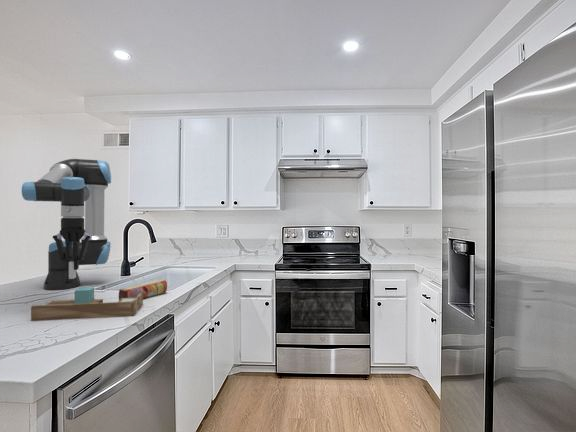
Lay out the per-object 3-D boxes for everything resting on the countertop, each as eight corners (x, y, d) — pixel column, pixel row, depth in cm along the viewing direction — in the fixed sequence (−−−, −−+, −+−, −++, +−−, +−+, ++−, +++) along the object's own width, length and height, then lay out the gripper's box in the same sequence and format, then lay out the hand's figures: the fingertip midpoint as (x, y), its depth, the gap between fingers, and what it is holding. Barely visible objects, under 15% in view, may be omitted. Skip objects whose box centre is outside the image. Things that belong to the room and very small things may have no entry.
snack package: (127, 304, 134) (127, 288, 134) (116, 302, 137) (117, 286, 137) (167, 293, 153) (168, 279, 153) (158, 292, 156) (158, 278, 156)
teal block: (80, 300, 128) (80, 287, 128) (94, 299, 129) (94, 287, 129) (74, 303, 123) (74, 290, 123) (89, 303, 124) (89, 290, 124)
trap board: (52, 308, 127) (52, 295, 127) (142, 304, 134) (142, 292, 134) (30, 320, 112) (31, 306, 112) (133, 315, 119) (133, 302, 119)
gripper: (48, 217, 120) (48, 280, 120) (87, 217, 122) (87, 279, 123) (58, 216, 127) (58, 276, 128) (94, 217, 130) (94, 275, 130)
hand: (72, 278), depth 125 cm, fingers closed
